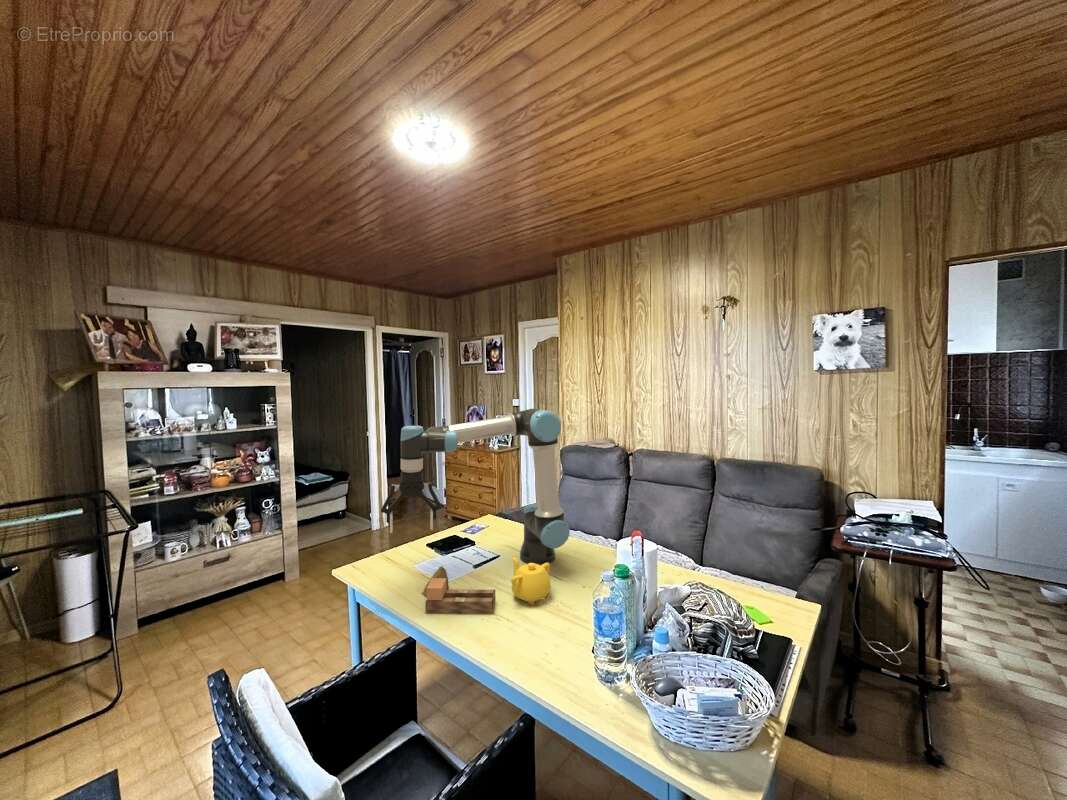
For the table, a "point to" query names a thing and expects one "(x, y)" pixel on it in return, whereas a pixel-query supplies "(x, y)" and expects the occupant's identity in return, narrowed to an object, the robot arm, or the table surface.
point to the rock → (438, 574)
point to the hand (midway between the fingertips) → (411, 530)
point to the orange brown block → (436, 589)
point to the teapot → (530, 581)
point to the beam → (463, 602)
